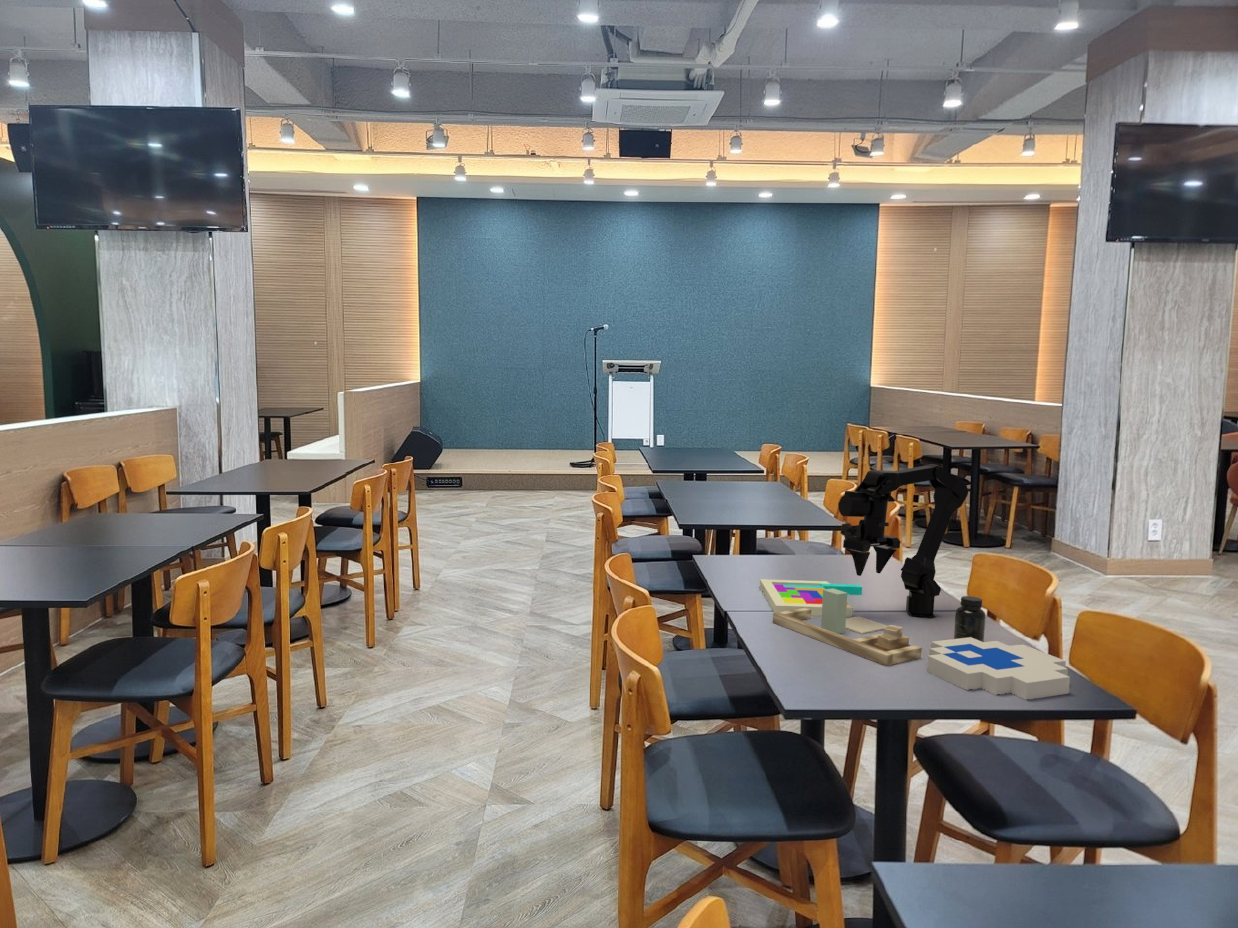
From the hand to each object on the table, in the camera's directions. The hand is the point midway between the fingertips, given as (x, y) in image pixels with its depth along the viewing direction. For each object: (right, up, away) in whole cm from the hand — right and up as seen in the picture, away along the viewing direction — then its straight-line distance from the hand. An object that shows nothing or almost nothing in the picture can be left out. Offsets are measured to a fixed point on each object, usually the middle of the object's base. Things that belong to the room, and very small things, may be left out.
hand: (868, 574), depth 228 cm
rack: (-11, -14, -17) cm, 25 cm away
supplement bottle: (+19, -15, -19) cm, 31 cm away
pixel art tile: (+17, -18, -39) cm, 46 cm away
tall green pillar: (-12, -13, -10) cm, 21 cm away
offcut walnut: (-2, -16, -26) cm, 31 cm away
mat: (-4, -13, -5) cm, 14 cm away
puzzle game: (-9, -11, +19) cm, 24 cm away
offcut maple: (-2, -11, -26) cm, 29 cm away
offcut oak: (-2, -13, -26) cm, 30 cm away
